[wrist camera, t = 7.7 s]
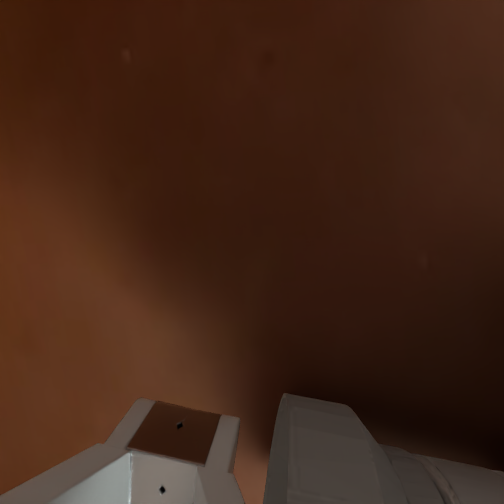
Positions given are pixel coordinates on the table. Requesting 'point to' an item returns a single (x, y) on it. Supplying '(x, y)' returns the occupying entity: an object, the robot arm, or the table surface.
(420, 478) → the digital camera
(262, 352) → the table surface
